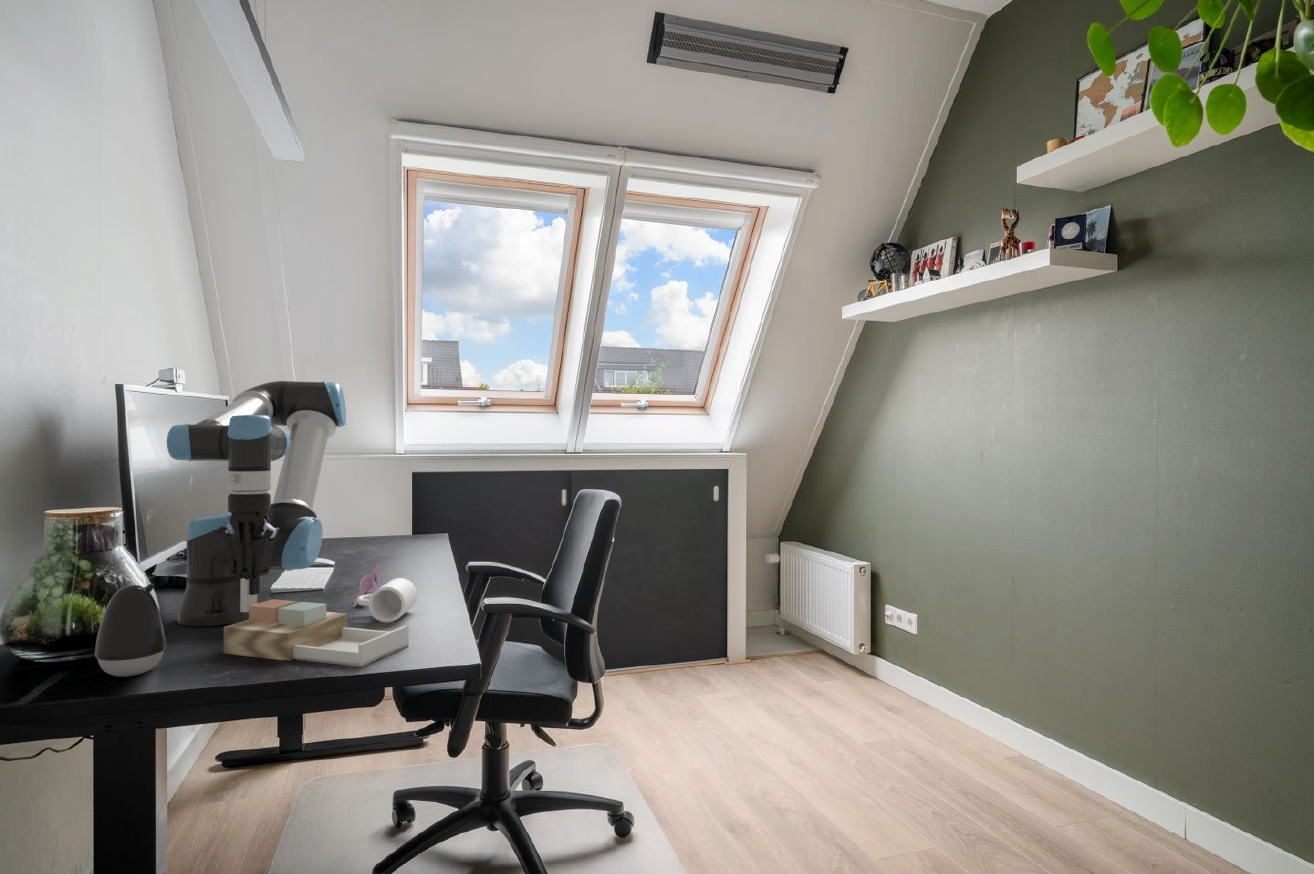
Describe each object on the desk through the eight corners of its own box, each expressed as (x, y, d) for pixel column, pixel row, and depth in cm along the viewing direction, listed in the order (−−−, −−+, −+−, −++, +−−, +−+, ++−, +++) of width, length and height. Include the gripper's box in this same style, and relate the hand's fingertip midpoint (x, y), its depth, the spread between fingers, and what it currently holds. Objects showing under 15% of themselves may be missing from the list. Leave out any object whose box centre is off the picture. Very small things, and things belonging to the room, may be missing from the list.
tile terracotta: (249, 621, 149) (249, 605, 149) (272, 614, 155) (272, 599, 154) (274, 623, 147) (274, 608, 147) (297, 616, 153) (297, 601, 153)
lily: (366, 600, 194) (347, 569, 191) (408, 583, 194) (389, 552, 191) (352, 626, 183) (332, 594, 180) (397, 608, 183) (377, 575, 179)
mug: (417, 612, 178) (417, 577, 178) (404, 622, 169) (404, 586, 168) (365, 612, 178) (365, 577, 178) (349, 622, 168) (349, 586, 168)
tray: (292, 659, 141) (293, 637, 141) (344, 639, 154) (344, 619, 154) (361, 667, 137) (362, 644, 137) (408, 646, 150) (408, 625, 150)
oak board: (223, 653, 144) (223, 626, 144) (286, 632, 160) (287, 608, 160) (288, 660, 140) (288, 633, 140) (347, 638, 155) (347, 613, 155)
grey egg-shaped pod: (180, 663, 138) (180, 579, 138) (139, 682, 128) (140, 591, 128) (124, 662, 138) (124, 578, 138) (79, 681, 128) (80, 590, 128)
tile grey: (278, 623, 147) (278, 608, 147) (301, 616, 153) (301, 601, 152) (304, 626, 145) (304, 610, 145) (326, 619, 151) (326, 603, 151)
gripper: (207, 492, 150) (207, 612, 151) (261, 494, 147) (260, 617, 147) (238, 490, 158) (238, 604, 158) (290, 491, 154) (289, 609, 154)
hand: (248, 610), depth 152 cm, fingers closed
